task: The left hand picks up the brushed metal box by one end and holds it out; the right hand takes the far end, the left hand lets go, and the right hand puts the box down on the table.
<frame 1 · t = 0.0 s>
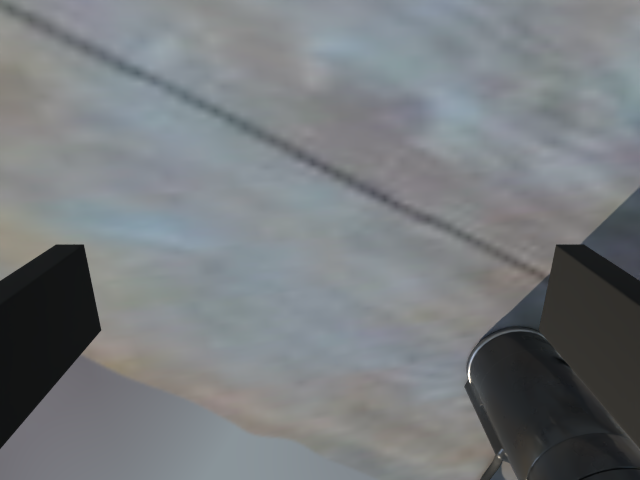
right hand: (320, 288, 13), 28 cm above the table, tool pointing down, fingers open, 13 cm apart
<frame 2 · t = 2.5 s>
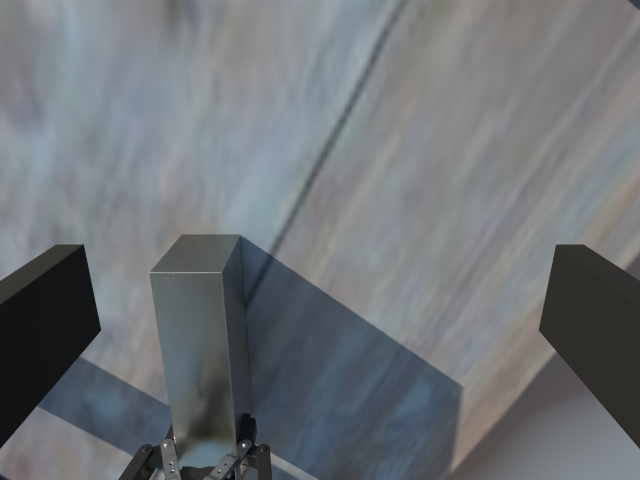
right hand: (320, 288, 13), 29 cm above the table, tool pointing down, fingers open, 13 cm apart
box: (220, 332, 47), on the table, touching left hand
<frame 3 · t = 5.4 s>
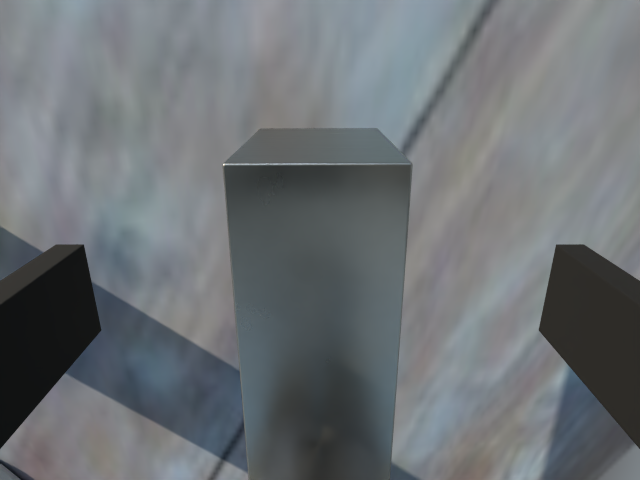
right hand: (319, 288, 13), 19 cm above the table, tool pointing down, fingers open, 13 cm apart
box: (319, 325, 25), point 9 cm above the table, touching left hand
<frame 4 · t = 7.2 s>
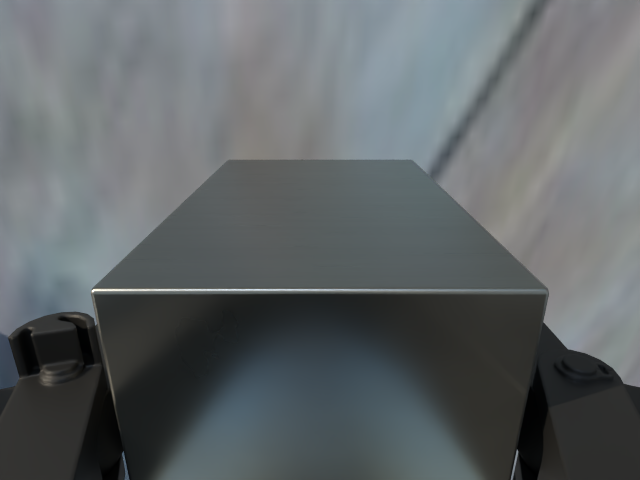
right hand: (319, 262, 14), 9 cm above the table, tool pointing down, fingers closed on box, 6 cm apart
box: (320, 437, 18), point 9 cm above the table, touching right hand, left hand
when the left hand's fingers open (13 cm above the table, at t = 8.2 s): box stays where it is, held by the right hand.
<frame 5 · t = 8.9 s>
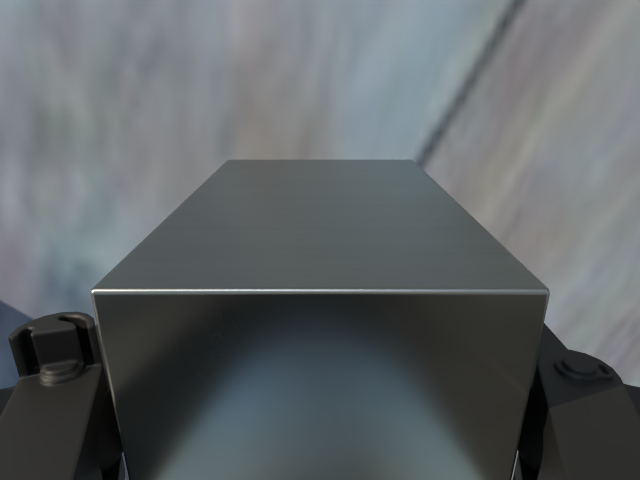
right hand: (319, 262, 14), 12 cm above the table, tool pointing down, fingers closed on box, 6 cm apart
box: (320, 437, 18), point 11 cm above the table, touching right hand
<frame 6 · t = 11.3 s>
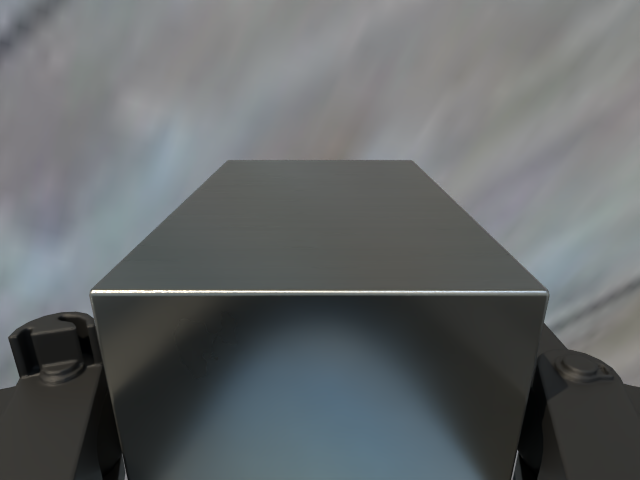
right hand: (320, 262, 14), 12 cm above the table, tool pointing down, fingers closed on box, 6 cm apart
box: (319, 437, 18), point 11 cm above the table, touching right hand
when the right hand's fingers open (2 cm above the table, at t = 15.6 s): box stays where it is, on the table.
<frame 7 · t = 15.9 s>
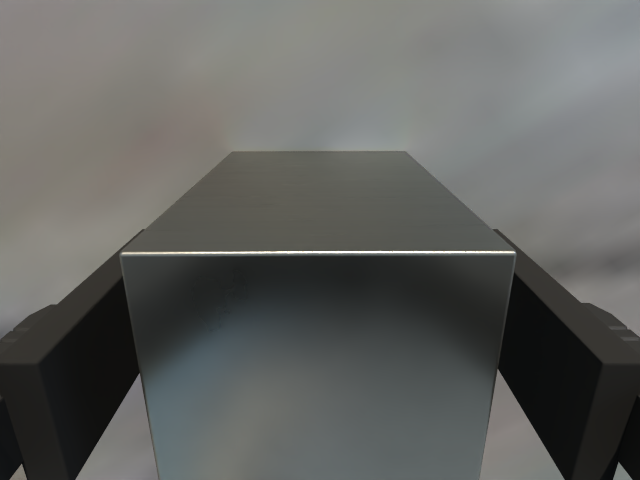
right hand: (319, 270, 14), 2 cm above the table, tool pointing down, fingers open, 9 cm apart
box: (319, 418, 18), on the table
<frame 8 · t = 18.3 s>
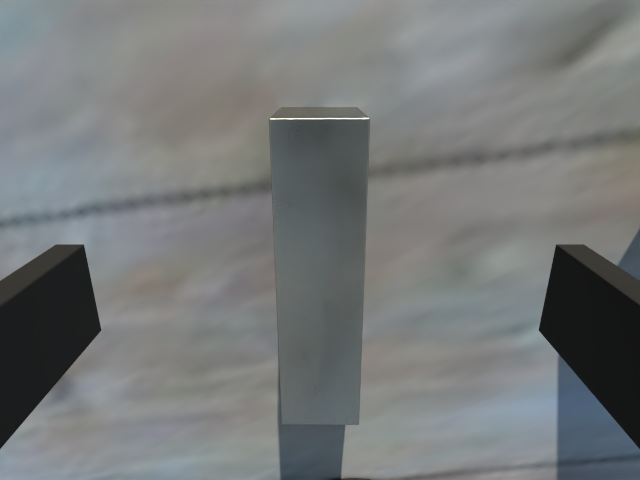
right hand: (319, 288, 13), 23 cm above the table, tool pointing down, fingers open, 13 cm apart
box: (319, 244, 37), on the table
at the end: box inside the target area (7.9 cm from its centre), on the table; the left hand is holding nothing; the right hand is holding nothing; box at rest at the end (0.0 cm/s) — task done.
